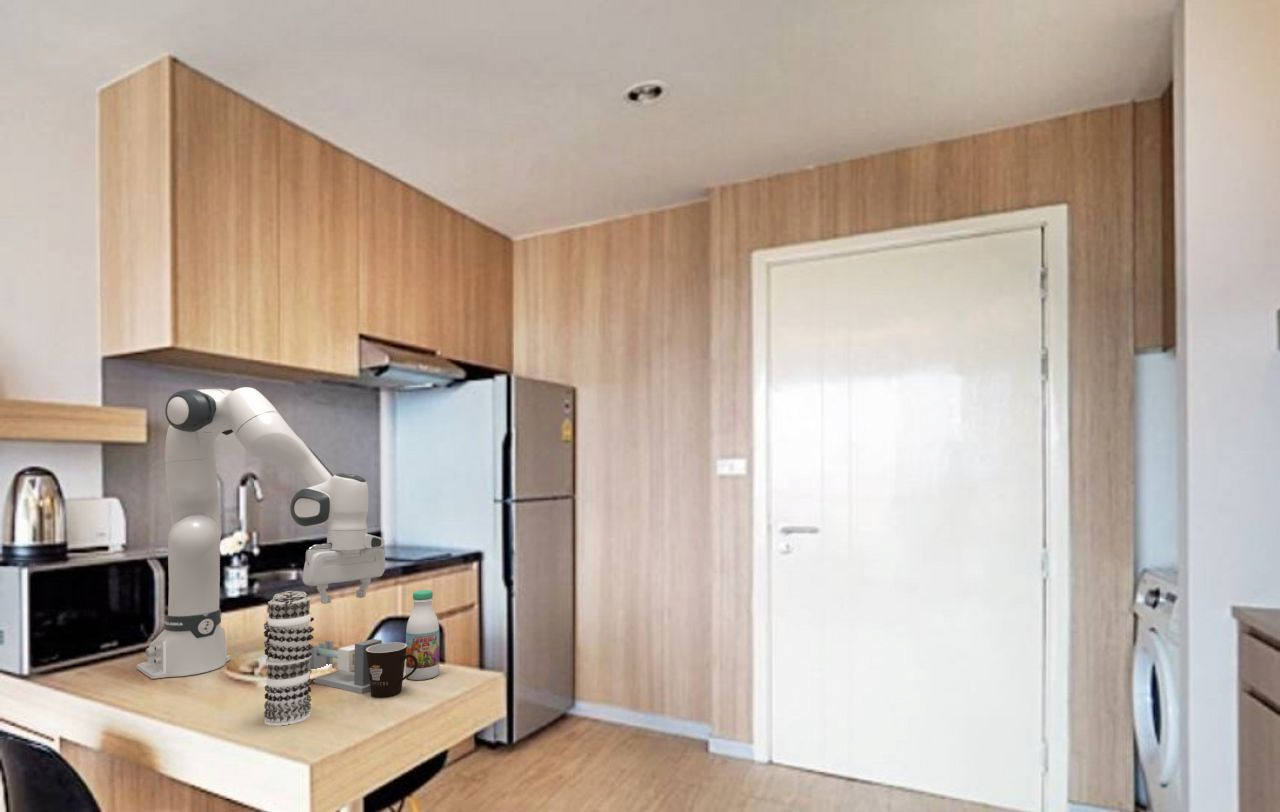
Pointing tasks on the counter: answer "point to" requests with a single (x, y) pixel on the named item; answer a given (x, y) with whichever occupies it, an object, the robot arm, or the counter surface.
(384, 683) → the coffee mug
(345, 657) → the marker sleeve
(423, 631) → the milk bottle
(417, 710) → the counter surface
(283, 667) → the decorative candle
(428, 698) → the counter surface
